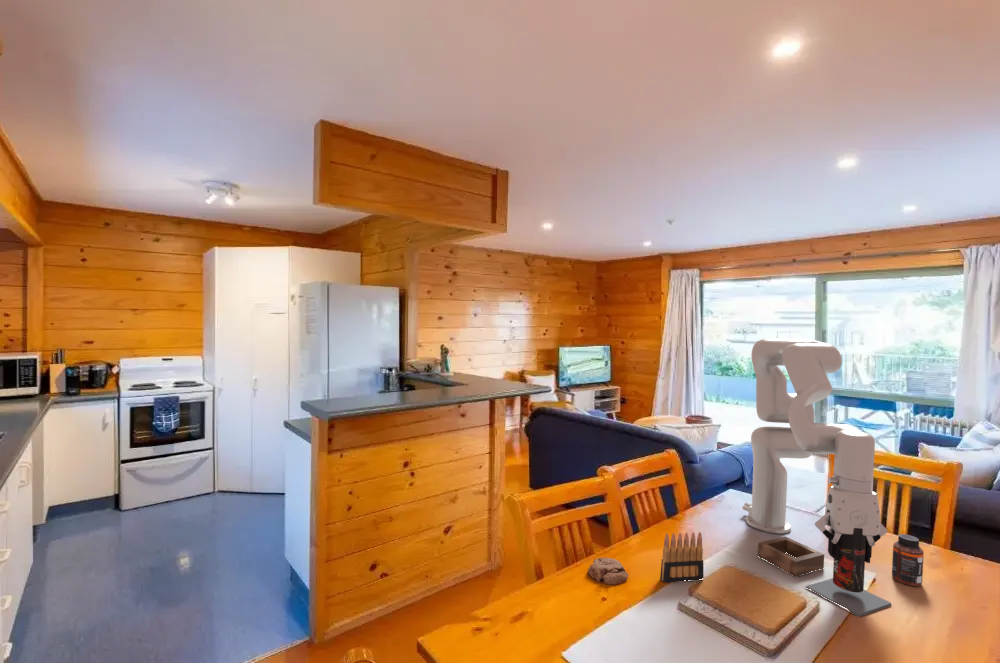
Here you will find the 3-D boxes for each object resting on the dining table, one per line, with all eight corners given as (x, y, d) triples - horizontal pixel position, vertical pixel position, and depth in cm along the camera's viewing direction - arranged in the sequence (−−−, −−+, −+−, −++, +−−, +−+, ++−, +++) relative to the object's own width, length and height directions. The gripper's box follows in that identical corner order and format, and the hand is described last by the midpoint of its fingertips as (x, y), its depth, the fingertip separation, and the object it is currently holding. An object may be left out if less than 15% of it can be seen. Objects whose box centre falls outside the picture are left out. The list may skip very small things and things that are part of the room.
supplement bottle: (928, 589, 119) (930, 544, 119) (900, 586, 120) (902, 541, 120) (912, 576, 125) (914, 533, 125) (886, 573, 126) (888, 530, 126)
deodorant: (870, 591, 112) (873, 527, 112) (848, 593, 111) (851, 529, 111) (847, 577, 118) (850, 517, 118) (826, 579, 117) (829, 518, 117)
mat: (805, 588, 118) (806, 586, 118) (837, 579, 123) (837, 576, 123) (858, 617, 107) (858, 614, 107) (891, 605, 112) (891, 603, 112)
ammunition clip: (663, 583, 119) (665, 535, 119) (660, 579, 121) (661, 531, 120) (703, 580, 121) (705, 533, 120) (699, 576, 122) (701, 530, 122)
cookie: (622, 565, 128) (622, 553, 128) (632, 587, 117) (632, 575, 117) (584, 563, 128) (584, 552, 128) (591, 585, 118) (591, 573, 117)
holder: (757, 556, 133) (757, 542, 133) (784, 550, 138) (785, 536, 137) (795, 577, 123) (796, 561, 123) (823, 569, 127) (824, 554, 127)
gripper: (822, 487, 111) (818, 563, 112) (903, 492, 109) (899, 570, 110) (805, 476, 119) (802, 548, 119) (881, 480, 117) (878, 554, 117)
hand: (849, 558), depth 115 cm, fingers closed on deodorant, 6 cm apart
